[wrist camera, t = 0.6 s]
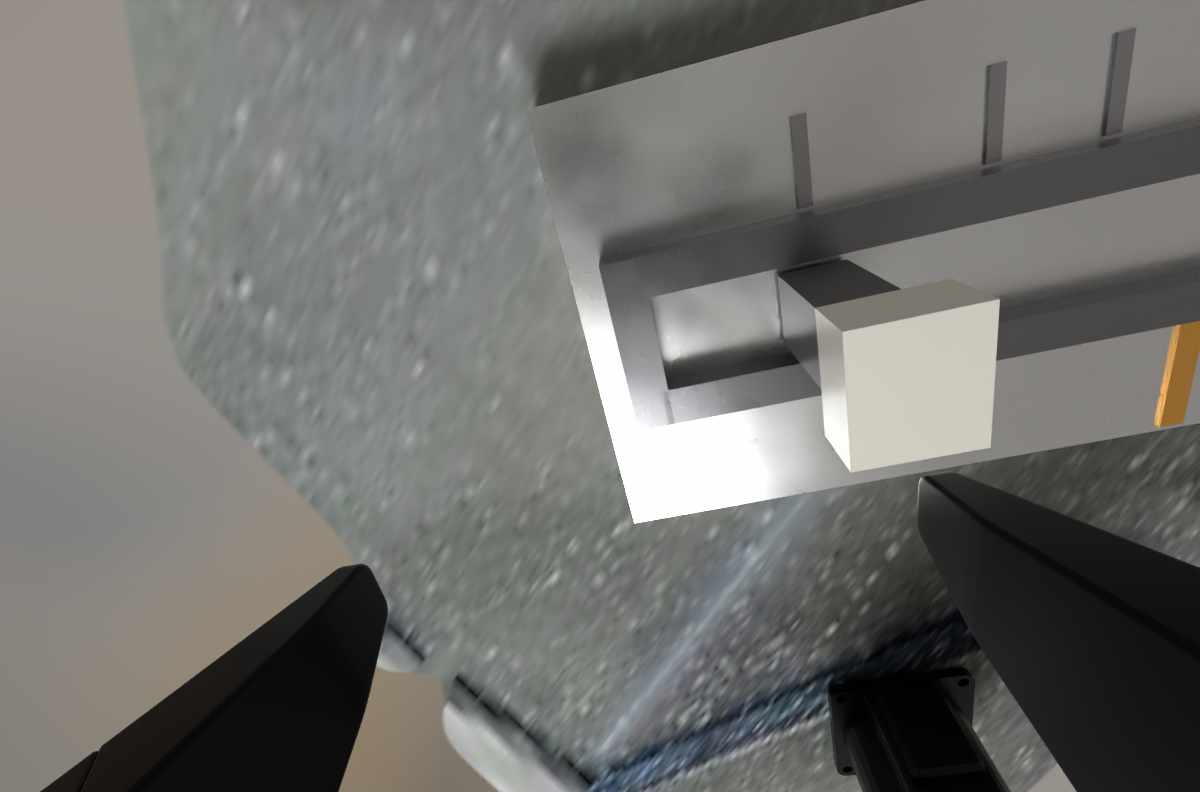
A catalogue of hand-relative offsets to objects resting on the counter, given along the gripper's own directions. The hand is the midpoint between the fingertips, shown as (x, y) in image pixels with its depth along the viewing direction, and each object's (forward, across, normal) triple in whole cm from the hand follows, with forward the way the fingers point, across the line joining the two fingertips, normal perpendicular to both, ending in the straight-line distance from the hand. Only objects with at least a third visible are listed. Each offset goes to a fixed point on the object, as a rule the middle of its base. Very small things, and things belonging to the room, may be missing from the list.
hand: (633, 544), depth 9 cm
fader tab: (+10, -6, 0) cm, 11 cm away
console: (+12, -11, 0) cm, 16 cm away
